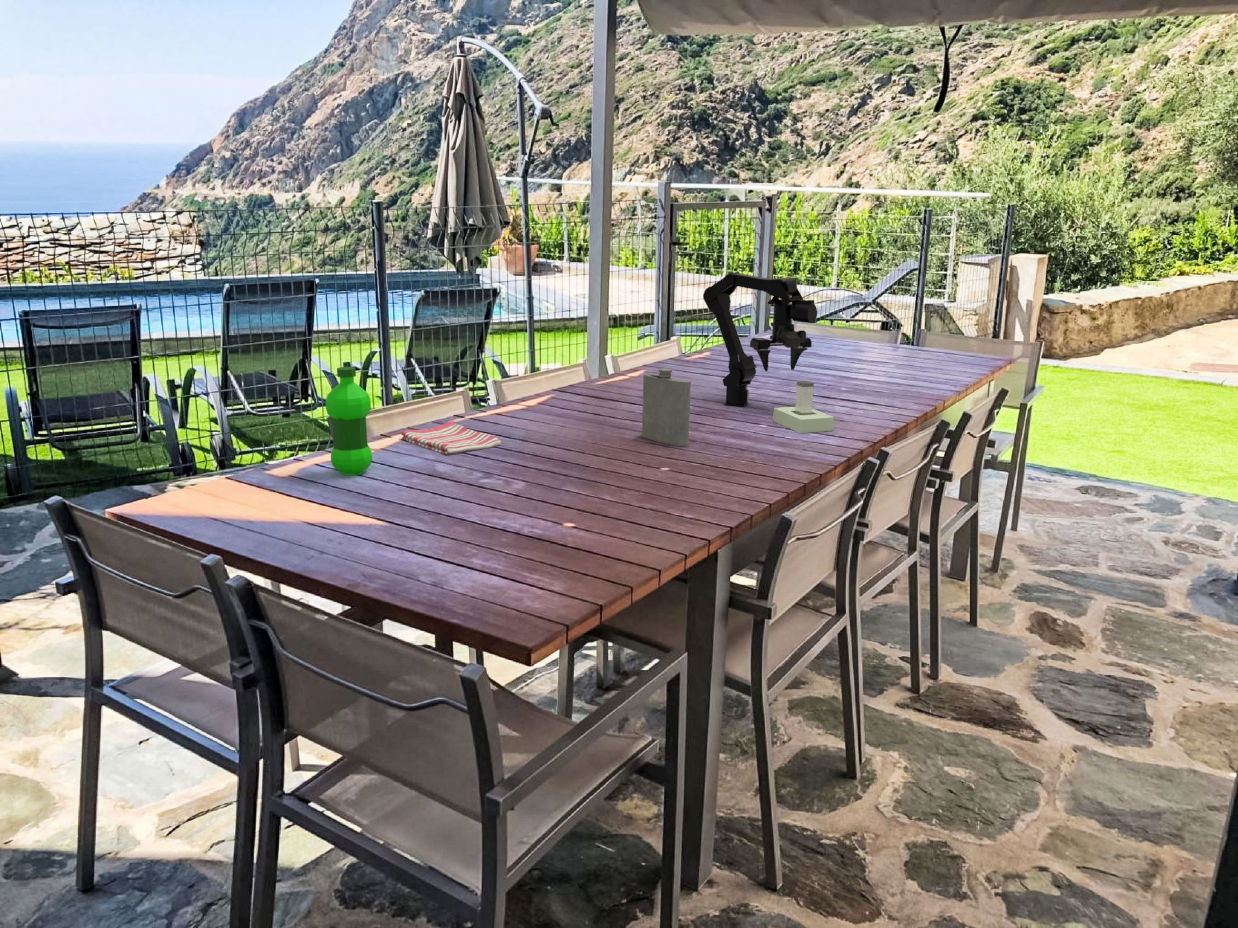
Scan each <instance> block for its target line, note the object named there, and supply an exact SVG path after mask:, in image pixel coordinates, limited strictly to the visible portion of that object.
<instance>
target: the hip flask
mask: <svg viewBox="0 0 1238 928" xmlns="http://www.w3.org/2000/svg"><path fill="white" fill-rule="evenodd" d="M672 373H673V369H672V368H666V367H663V368H658V373H650V372H649V373H647V372H646V373H644V374H643V382H642V383H643V387H642V388H643V389H642V419H641V420H642V423H641V424H642V426H641V437H642V438H645V439H648V440H651V441H654V442H658V443H662V444H667V445H672V446H677V447H688V446H689V442H690V441H689V438H690V435H689V434H690V416H691V415H690V413H691V412H690V411H691V410H690V409H691V406H690V405H691V387H692V386H691V383H692V382H691V380H688V379H681V378H675V377H672Z"/></svg>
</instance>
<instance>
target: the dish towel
mask: <svg viewBox="0 0 1238 928" xmlns="http://www.w3.org/2000/svg"><path fill="white" fill-rule="evenodd" d="M400 433H401V435H402V437H401V439H402V440H403V441H407V442H408V443H410V444H413V445H416V446H419V447H422V448H424V449H428V450H431V451H433V452H436V453H439V454H443V455H447V456H452V455H457V454H458V455H459V454H463V453H468V452H473V451H478V450H479V451H480V450H485V449H491V448H494V447H498V446H499V447H501V444H502V441H501V440H500V439H499V438H498V437H495V436H492V435H490V434H489V433H486V432H485V433H484V432H479V431H475V430H472V429H470V428H469V429H468V428H466V427H465V426H463V425H461V424H459V423H456V422H454V420H450V421H447V422H446V423H443V424H440V425H437V426H435V427H431V428H430V427H429V428H425V429H421V430H416V429H404V430H403V431H401V432H400Z"/></svg>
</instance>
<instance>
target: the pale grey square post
mask: <svg viewBox="0 0 1238 928" xmlns="http://www.w3.org/2000/svg"><path fill="white" fill-rule="evenodd" d="M814 386H815V383H814V382H811V381H809V380H805V381H804V380H803V381H800V380H799V381H796V393H795V406H794V407H795V414H798V415H812V409H813V402H814Z"/></svg>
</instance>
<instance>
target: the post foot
mask: <svg viewBox="0 0 1238 928" xmlns="http://www.w3.org/2000/svg"><path fill="white" fill-rule="evenodd" d="M772 421H773V422H774V423H776V424H779V425H781V426H782V427H785V428H787V429H789V428H790V430H792V431H793V432H794V431H795V432H796V433H799V434H809V433H823V432H834V430H835V428H834V427H835V416H832V415H829V414H827V413H824V412H823V411H819V410H817V409H815V408H812V415H798V414H795V406H784V407H774V408H773V412H772Z"/></svg>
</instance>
